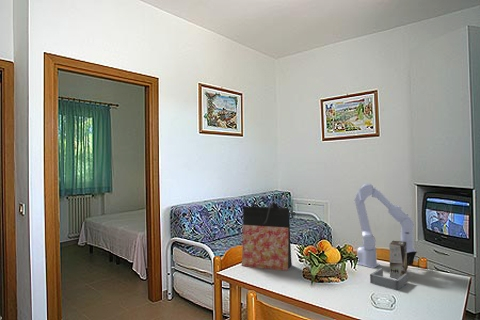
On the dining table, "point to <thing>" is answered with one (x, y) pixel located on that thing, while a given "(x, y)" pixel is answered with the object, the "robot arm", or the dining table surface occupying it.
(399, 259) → the coffee box
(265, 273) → the dining table surface
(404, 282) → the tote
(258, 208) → the gift bag
